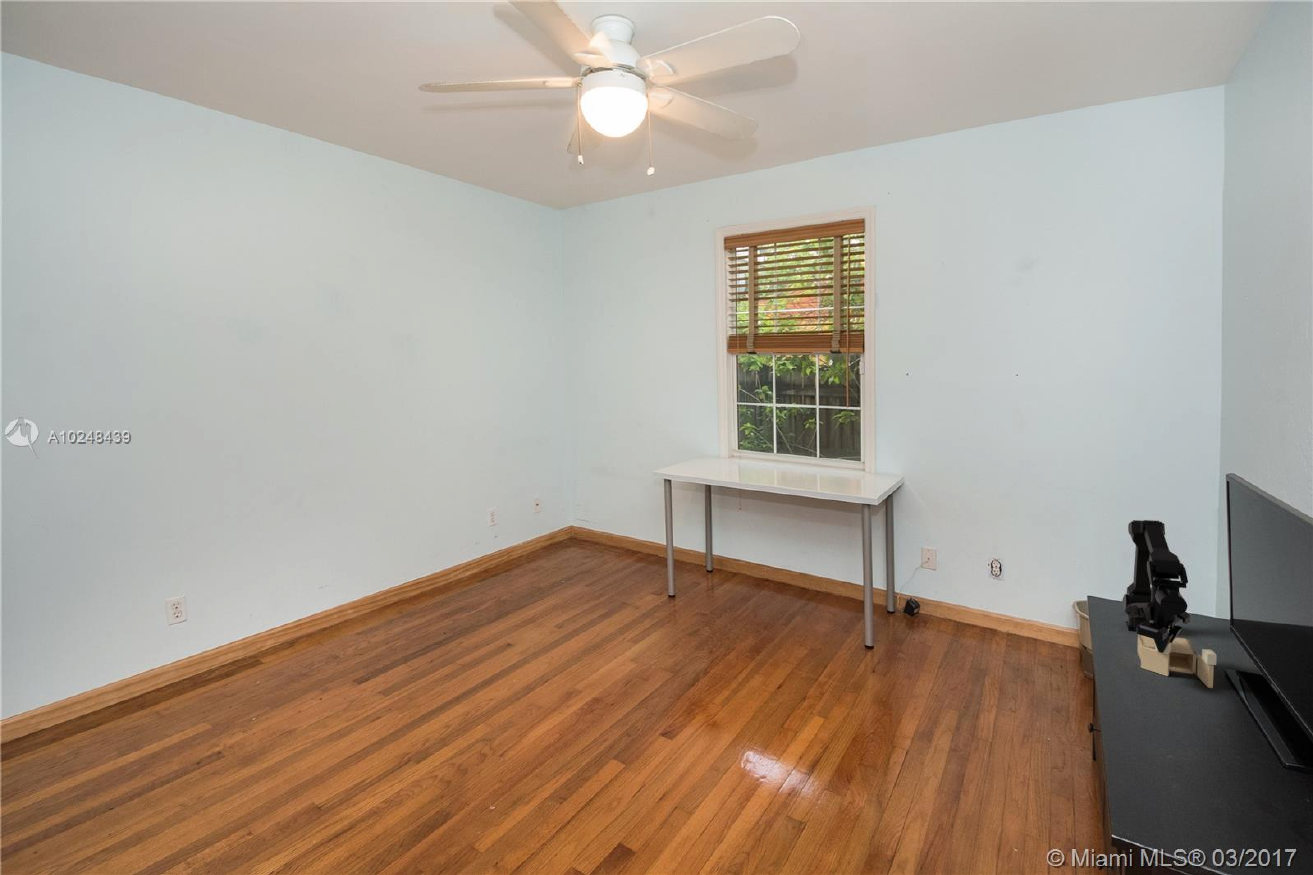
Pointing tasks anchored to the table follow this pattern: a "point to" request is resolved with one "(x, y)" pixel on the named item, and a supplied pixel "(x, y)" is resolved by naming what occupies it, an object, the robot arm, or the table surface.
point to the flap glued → (1156, 659)
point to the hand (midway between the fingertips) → (1162, 651)
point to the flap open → (1206, 666)
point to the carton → (1174, 654)
